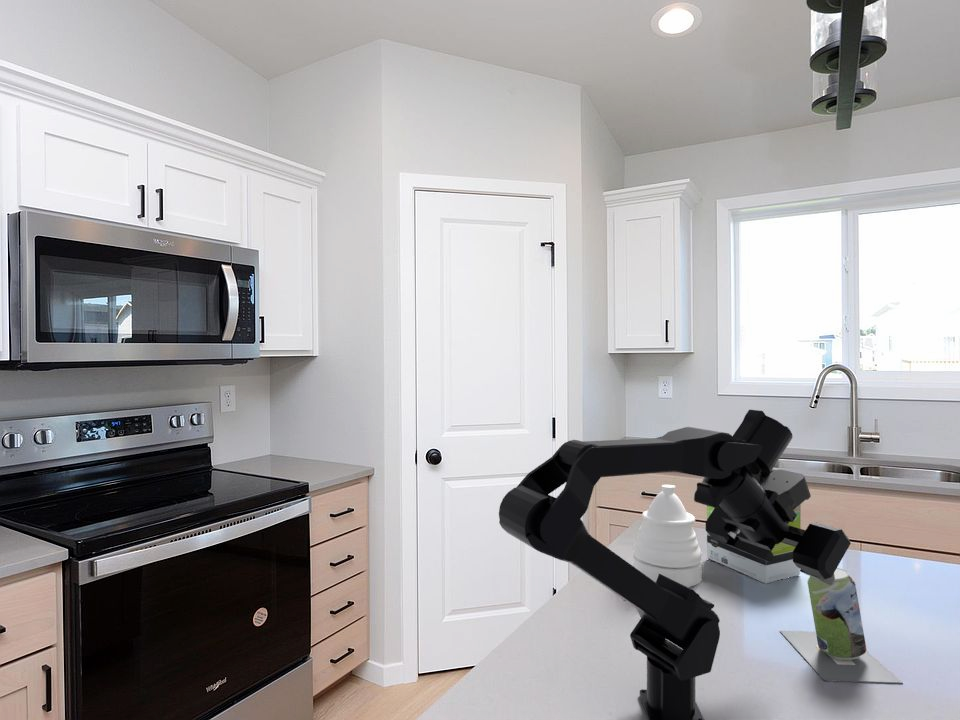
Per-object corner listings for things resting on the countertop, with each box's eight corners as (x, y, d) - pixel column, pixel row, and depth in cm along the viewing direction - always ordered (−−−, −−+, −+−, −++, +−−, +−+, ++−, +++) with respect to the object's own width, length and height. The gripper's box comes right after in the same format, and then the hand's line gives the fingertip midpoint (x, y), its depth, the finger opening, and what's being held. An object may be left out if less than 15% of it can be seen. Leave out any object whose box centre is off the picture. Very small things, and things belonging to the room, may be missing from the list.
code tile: (902, 683, 79) (902, 681, 79) (824, 680, 80) (824, 679, 80) (846, 633, 93) (846, 632, 93) (779, 631, 94) (779, 630, 94)
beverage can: (874, 667, 83) (874, 581, 83) (815, 662, 84) (816, 577, 84) (855, 645, 89) (855, 565, 89) (801, 641, 90) (801, 562, 90)
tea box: (704, 559, 126) (705, 489, 126) (739, 552, 130) (739, 485, 130) (765, 585, 112) (766, 506, 112) (802, 576, 117) (802, 500, 116)
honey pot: (708, 589, 110) (708, 492, 110) (636, 585, 112) (636, 490, 112) (695, 565, 123) (695, 477, 123) (630, 561, 125) (630, 475, 125)
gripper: (841, 465, 72) (896, 543, 77) (719, 443, 89) (771, 508, 94) (796, 539, 69) (856, 615, 74) (679, 502, 86) (734, 566, 91)
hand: (800, 570), depth 83 cm, fingers open, 9 cm apart
